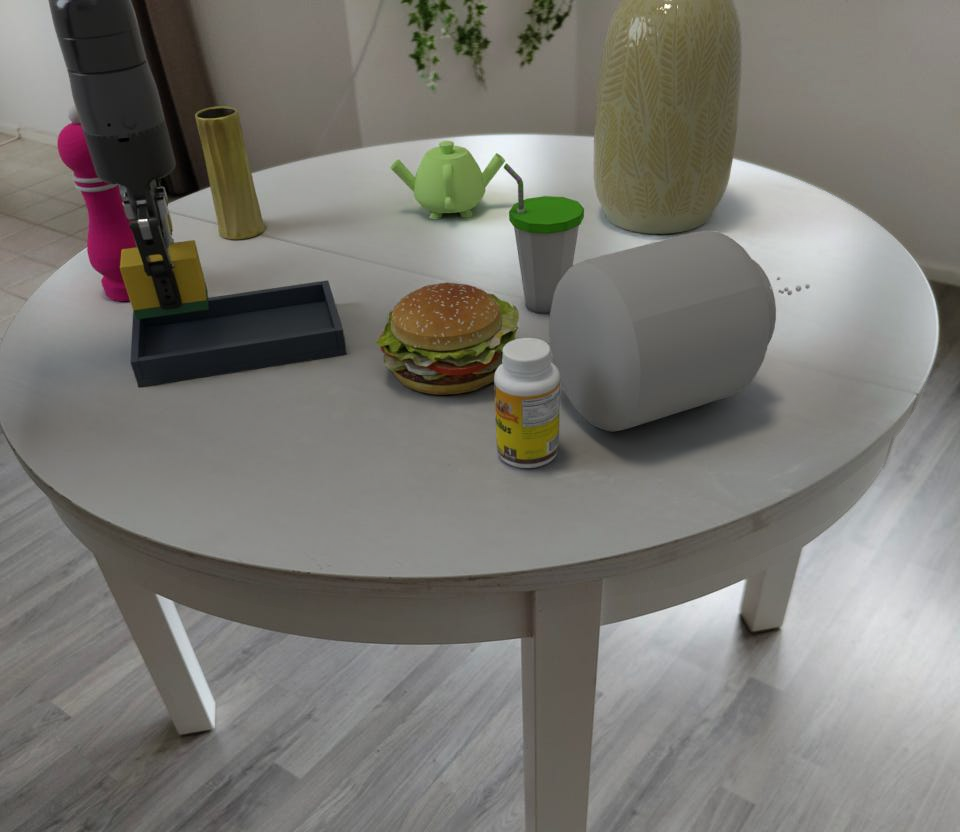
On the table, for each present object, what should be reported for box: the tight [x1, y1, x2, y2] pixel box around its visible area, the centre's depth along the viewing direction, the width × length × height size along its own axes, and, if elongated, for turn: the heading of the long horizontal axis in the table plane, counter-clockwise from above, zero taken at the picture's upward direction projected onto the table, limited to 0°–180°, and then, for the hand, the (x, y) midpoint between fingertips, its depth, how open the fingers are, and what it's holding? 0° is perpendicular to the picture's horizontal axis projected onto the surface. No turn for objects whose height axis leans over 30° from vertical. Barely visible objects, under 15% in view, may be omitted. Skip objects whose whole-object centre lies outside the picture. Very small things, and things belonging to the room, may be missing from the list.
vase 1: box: [194, 105, 266, 240], centre depth 119 cm, size 6×6×14 cm
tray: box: [130, 279, 348, 388], centre depth 101 cm, size 22×13×3 cm, turn 104°
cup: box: [503, 162, 585, 315], centre depth 100 cm, size 8×8×15 cm
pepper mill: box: [56, 105, 137, 302], centre depth 106 cm, size 7×7×20 cm
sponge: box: [120, 239, 209, 319], centre depth 98 cm, size 8×5×6 cm, turn 103°
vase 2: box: [593, 0, 743, 235], centre depth 112 cm, size 17×17×27 cm
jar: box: [548, 230, 811, 432], centre depth 85 cm, size 19×15×25 cm
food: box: [375, 282, 520, 396], centre depth 93 cm, size 14×14×8 cm
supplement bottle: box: [493, 337, 561, 469], centre depth 81 cm, size 6×6×10 cm
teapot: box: [390, 140, 506, 220], centre depth 123 cm, size 11×12×8 cm
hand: (171, 295), depth 99 cm, fingers closed on sponge, 4 cm apart
